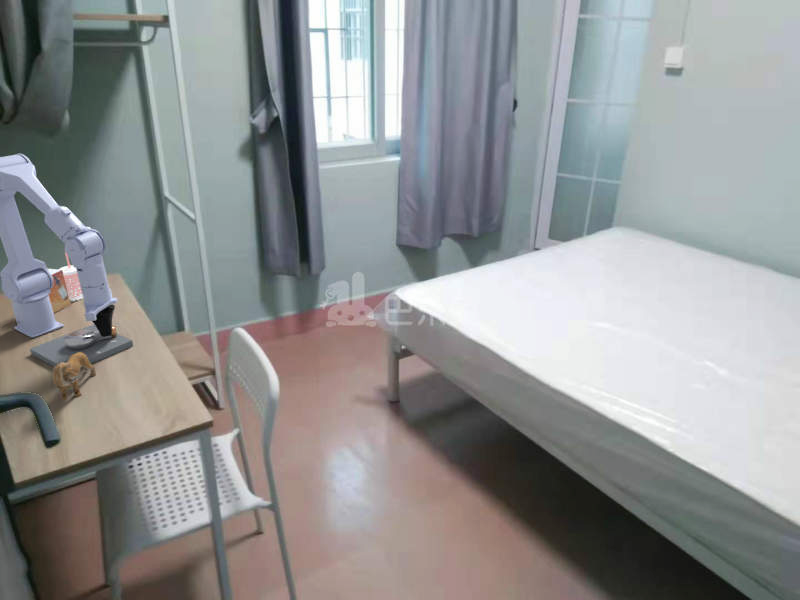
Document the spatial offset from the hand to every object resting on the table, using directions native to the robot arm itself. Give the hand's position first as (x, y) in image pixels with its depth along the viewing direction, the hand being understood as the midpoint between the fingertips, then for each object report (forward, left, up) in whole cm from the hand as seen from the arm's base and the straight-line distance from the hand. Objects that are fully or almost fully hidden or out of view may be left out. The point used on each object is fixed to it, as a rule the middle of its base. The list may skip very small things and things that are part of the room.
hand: (106, 335), depth 137 cm
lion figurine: (+13, -14, -3) cm, 19 cm away
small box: (-33, +3, -3) cm, 34 cm away
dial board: (-3, -5, -3) cm, 6 cm away
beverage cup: (-35, +11, -3) cm, 37 cm away
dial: (-3, -2, -1) cm, 4 cm away
